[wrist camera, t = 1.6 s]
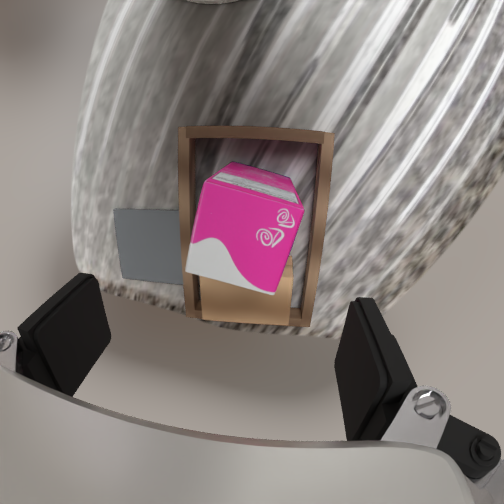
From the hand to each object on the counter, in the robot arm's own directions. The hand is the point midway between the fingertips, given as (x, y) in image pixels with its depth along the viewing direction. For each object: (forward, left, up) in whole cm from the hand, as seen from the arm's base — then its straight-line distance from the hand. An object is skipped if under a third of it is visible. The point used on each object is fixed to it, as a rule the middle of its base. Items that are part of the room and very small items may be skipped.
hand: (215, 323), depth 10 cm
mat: (+5, -11, -18) cm, 22 cm away
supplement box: (0, 0, -18) cm, 18 cm away
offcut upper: (+8, 0, -16) cm, 18 cm away
